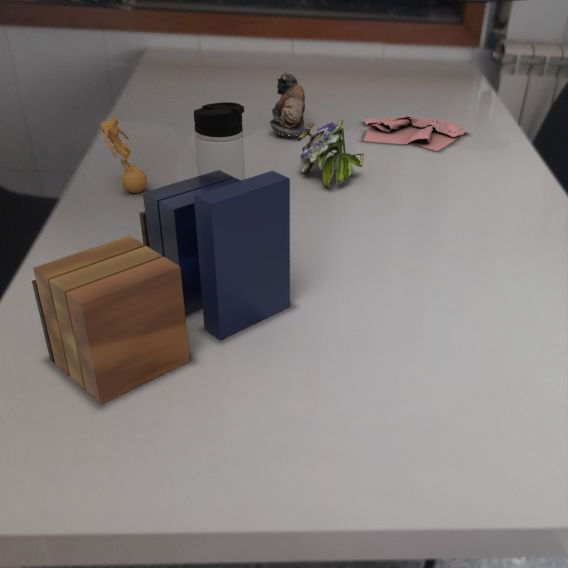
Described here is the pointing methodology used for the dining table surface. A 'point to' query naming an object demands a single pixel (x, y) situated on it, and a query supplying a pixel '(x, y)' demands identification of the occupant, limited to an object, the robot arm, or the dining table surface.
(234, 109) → the travel mug
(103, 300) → the tan books
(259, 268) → the navy book
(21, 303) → the dining table surface
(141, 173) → the figurine
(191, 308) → the navy books
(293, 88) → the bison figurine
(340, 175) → the passion flower
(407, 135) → the cloth
